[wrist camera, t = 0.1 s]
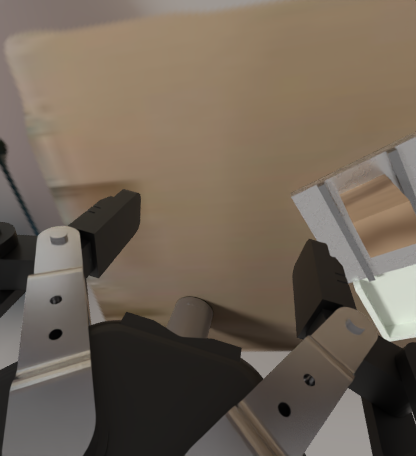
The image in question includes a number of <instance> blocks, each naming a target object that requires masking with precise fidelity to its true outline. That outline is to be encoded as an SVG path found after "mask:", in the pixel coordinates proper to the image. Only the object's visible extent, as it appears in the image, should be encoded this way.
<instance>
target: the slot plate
mask: <svg viewBox="0 0 416 456" xmlns="http://www.w3.org/2000/svg"><path fill="white" fill-rule="evenodd" d="M384 174H385V175H386V176H387V177H388V178H389V179H390V180H391V181H392V182H393V183H394V184H395V185H396V187H397V188H398V189H399V190H400V191H401V192H402V193H403V194H404V195H405V196H406V197H407V198H408V199H409V200H410V203H411V205H412V208H413V210H414V212H415V215H416V131H415V132H413V133H411V134H409V135H407V136H405V137H403V138H401V139H399V140H397V141H395V142H393V143H391V144H389V145H387V146H385V147H383V148H381V149H379V150H377V151H375V152H373V153H371V154H369V155H367V156H365V157H363V158H361V159H358V160H356V161H354V162H352V163H350V164H348V165H346V166H344V167H342V168H340V169H338V170H336V171H334V172H332V173H330V174H328V175H326V176H324V177H322V178H320V179H318V180H316V181H314V182H312V183H310V184H308V185H306V186H304V187H302V188H300V189H298V190H296V191H294V192H292V193H291V198H292V199H293V201H294V203H295V204H296V206H297V208H298V209H299V211H300V213H301V214H302V216H303V218H304V219H305V221H306V223H307V224H308V226H309V228H310V229H311V231H312V233H313V234H314V236H315V238H316V239H317V241H319V242H323V243H326V244H327V245H328V249H329V253H330V256H332V257H336V259H337V260H338V261H339V262H340V264H341V265H342V266H343V268H344V272H345V275H346V276H345V277H346V278H347V281H348V283H351V282H355V281H358V280H362V279H365V278H367V279H368V280H369V282H371V281H374V280H376V279H375V277H374V276H376V275H379V274H383V273H386V272H390V271H393V270H397V269H400V268H404V267H407V266H411V265H414V264H416V244H413V245H410V246H407V247H404V248H401V249H397V250H394V251H391V252H388V253H385V254H382V255H378V256H375V257H372V258H370V256H369V254H368V252H367V250H366V248H365V246H364V244H363V243H362V241H361V239H360V237H359V235H358V233H357V231H356V229H355V227H354V225H353V223H352V221H351V219H350V217H349V215H348V212H347V210H346V208H345V206H344V204H343V201H342V199H341V197H340V195H339V194H342V193H344V192H346V191H348V190H351V189H353V188H355V187H357V186H360V185H362V184H364V183H366V182H368V181H371V180H373V179H375V178H377V177H380V176H382V175H384Z"/></svg>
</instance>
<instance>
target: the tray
mask: <svg viewBox="0 0 416 456" xmlns="http://www.w3.org/2000/svg"><path fill="white" fill-rule="evenodd" d="M374 277H375V279H376V280H374V281H371V282H369V280H368V279H367V278H365V279H362V280H358V281H355V282H353V284H354V287H355V290H356V292H357V294H358V295H359V297H360V299H361V300H362V302H363V304H364V306H365V307H366V309H367V311H368V313H369V314H370V316H371V318H372V319H373V321H374V323H375V325H376V326H377V328H378V330H379V331H380V333H381V335H382V337H383V338H384V339H386V340H388V341H389V342H390V341H396V340H402V339H407V338H413V337H416V264H414V265H411V266H407V267H404V268H400V269H397V270H393V271H390V272H386V273H383V274H379V275H376V276H374Z"/></svg>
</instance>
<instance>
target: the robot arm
mask: <svg viewBox="0 0 416 456" xmlns="http://www.w3.org/2000/svg"><path fill="white" fill-rule="evenodd" d="M140 204H141V197H140V194H139V193H136V192H132V191H129V190H125V189H123V190H122V191H120V192H119V193H118V194H117V195H116V196H114V197H112V196H110V197H107V198H104V199H102V200H100V201H98V202H97V203H96V204H95V205H93V207H91V208H90V209H88V211H87V212H85V213H83V214H82V215H81V216H80V217H78V218H77V219H76V220H75V221H73V222H72V223H71V224H70V225H68V226H57V227H52V228H49V229H47V230H45V231H43V232H42V233H40V234H39V236H29V235H17V234H16V231H15V228H14V227H13V225H11V224H9V223H5V222H0V318H1V317H2V316H3V314H4V313H6V311H7V310H8V309H9V308H10V307H11V306H12V305H13V304H14V303H15V302H16V301H17V300H18V299H19V298H20V297H21V296H22V295H23V294H24V293H25V292H26V296H25V306H24V314H23V323H22V331H21V340H20V349H19V357H18V361H17V362H15V363H13V364H11V365H9V366H7V367H5V368H3V369H1V370H0V456H306V455H305V453H304V452H305V451H306V449H307V448H308V446H309V445H310V443H311V442H312V440H313V439H314V437H315V436H316V434H317V433H318V431H319V430H320V428H321V427H322V426H323V424H324V422H325V421H326V420H327V418H328V417H329V415H330V413H331V412H332V411H333V409H334V408H335V406H336V405H337V403H338V402H339V400H340V399H341V397H342V396H343V394H344V393H345V391H346V390H347V388H349V389H351V390H352V391H354V392H356V393H357V394H359V395H360V396H361V398H362V404H363V409H364V414H365V418H366V424H367V429H368V434H369V439H370V444H371V449H372V454H373V456H416V424H415V421H416V343H415V342H412V343H408V344H407V345H406V346H405V347H404V348H403V349H402V348H400V347H399V346H397V345H395V344H393V343H391V342H389V341H388V340H386V339H384V338H382V337H380V336H379V335H378V332H377V329H376V327H375V326H374V324H373V323H372V321H371V320H370V319H369V318H368V317H366V316H365V315H364V314H363V313H361V312H359V311H358V310H357V309H356V306H355V303H354V300H353V297H352V293H351V290H350V287H349V285H348V281H347V278H346V277H345V276H346V275H345V272H344V268H343V266H342V265H341V264H340V262H339V261H338V260H337V259H336V257H332V256H330V253H329V249H328V245H327V244H326V243H323V242H319V241H315V240H312V239H309V240H308V241H307V242H306V244H305V246H304V248H303V250H302V252H301V254H300V256H299V258H298V260H297V262H296V264H295V266H294V270H293V290H294V304H295V317H296V331H297V338H300V339H303V341H302V342H301V343H300V344H299V345H298V346H297V347H296V348H295V349H294V350H293V351H292V352H291V353H290V354H289V355H288V356H287V357H286V358H285V359H283V361H282V362H280V363H279V364H278V365H277V366H276V367H275V368H274V369H273V370H272V372H270V373H269V374H268V375H267V376H266V377H265V378H264V379H263V378H262V377H261V375H260V374H259V373H258V372H257V371H256V370H255V369H254V368H253V367H252V366H251V365H250V364H249V363H247V362H246V361H245V360H243V359H242V358H240V356H241V348H240V347H237V346H234V345H231V344H228V343H224V342H221V341H218V340H215V339H208V338H207V337H208V333H209V329H210V325H211V321H212V317H213V311H212V309H211V307H210V306H209V305H208V304H207V303H206V302H204V301H203V300H201V299H198V298H195V297H184V298H181V299H180V300H178V302H177V303H176V305H175V308H174V310H173V313H172V315H171V317H170V320H169V322H168V325H167V327H166V328H165V327H164V326H162V325H161V324H159V323H157V322H156V321H154V320H151V319H148V318H145V317H141V316H138V315H135V314H132V313H129V312H126V313H125V315H124V317H123V319H122V320H113V321H105V322H100V323H96V324H93V325H91V319H90V309H89V301H88V292H87V291H88V290H87V282H86V278H87V277H88V276H89V275H90V276H93V277H96V278H99V277H100V276H101V275H102V274H103V273H104V271H105V270H106V269H107V268H108V266H109V265H110V264H111V263H112V262H113V260H114V259H115V258H116V257H117V255H118V254H119V253H120V252H121V250H122V249H123V248H124V247H125V246H126V244H127V243H128V242H129V241H130V239H131V238H132V237H133V236H134V235H135V233H136V232H137V230H138V228H139V224H140ZM412 412H413V415H414V418H415V421H414V418H413V415H412Z"/></svg>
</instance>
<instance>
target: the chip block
mask: <svg viewBox="0 0 416 456" xmlns="http://www.w3.org/2000/svg"><path fill="white" fill-rule="evenodd" d="M339 195H340V197H341V199H342V201H343V204H344V206H345V208H346V210H347V212H348V215H349V217H350V219H351V221H352V223H353V225H354V227H355V229H356V231H357V233H358V235H359V237H360V239H361V241H362V243H363V244H364V246H365V248H366V250H367V252H368V254H369V256H370V258H372V257H375V256H378V255H382V254H385V253H388V252H391V251H394V250H397V249H401V248H404V247H407V246H410V245H413V244H416V215H415V212H414V210H413V208H412V205H411V203H410V200H409V199H408V198H407V197H406V196H405V195H404V194H403V193H402V192H401V191H400V190H399V189H398V188H397V187H396V185H395V184H394V183H393V182H392V181H391V180H390V179H389V178H388V177H387V176H386V175H385V174H384V175H382V176H380V177H377V178H375V179H373V180H371V181H368V182H366V183H364V184H362V185H360V186H357V187H355V188H353V189H351V190H348V191H346V192H344V193H342V194H339Z"/></svg>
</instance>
